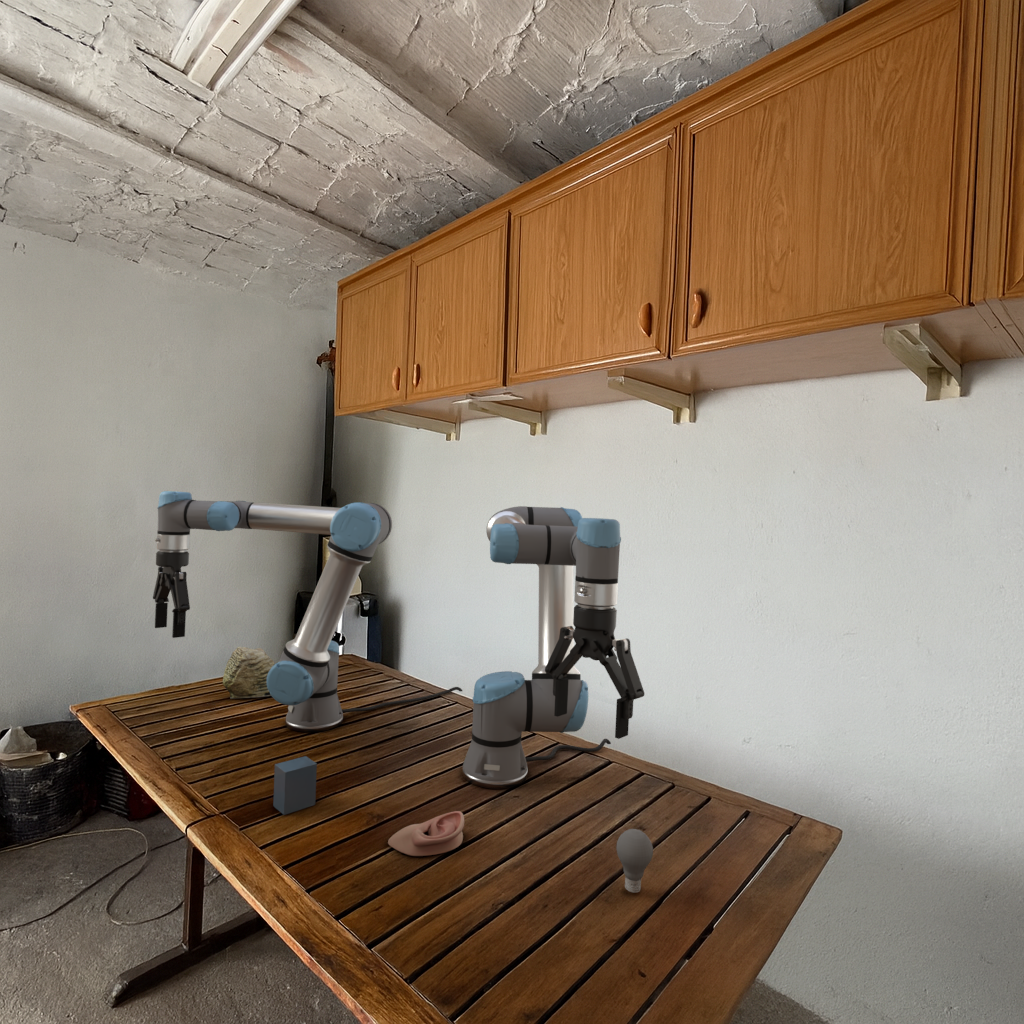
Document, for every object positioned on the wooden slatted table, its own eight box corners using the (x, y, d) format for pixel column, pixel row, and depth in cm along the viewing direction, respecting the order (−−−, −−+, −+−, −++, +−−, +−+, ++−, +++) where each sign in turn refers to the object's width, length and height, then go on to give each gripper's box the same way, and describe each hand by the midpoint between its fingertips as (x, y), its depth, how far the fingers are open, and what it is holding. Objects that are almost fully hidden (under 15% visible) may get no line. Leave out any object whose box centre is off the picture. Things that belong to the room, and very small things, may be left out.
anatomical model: (381, 829, 114) (405, 800, 125) (380, 851, 114) (404, 820, 125) (452, 840, 111) (469, 809, 122) (451, 862, 111) (469, 830, 123)
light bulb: (610, 879, 108) (613, 822, 108) (644, 879, 109) (647, 822, 109) (619, 902, 102) (622, 840, 102) (655, 901, 103) (658, 840, 103)
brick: (273, 806, 129) (274, 764, 129) (304, 796, 134) (305, 755, 134) (283, 815, 125) (285, 772, 125) (315, 804, 130) (317, 763, 130)
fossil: (218, 695, 195) (220, 647, 195) (278, 685, 208) (279, 640, 207) (228, 703, 189) (230, 653, 188) (289, 692, 201) (290, 645, 201)
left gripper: (141, 546, 170) (138, 625, 171) (173, 555, 153) (170, 643, 153) (172, 546, 176) (168, 622, 176) (206, 555, 158) (202, 639, 159)
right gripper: (529, 597, 118) (524, 710, 118) (643, 619, 100) (637, 752, 101) (556, 594, 123) (551, 702, 124) (668, 614, 105) (662, 741, 106)
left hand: (169, 632), depth 165 cm, fingers open, 13 cm apart
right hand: (589, 725), depth 112 cm, fingers open, 13 cm apart
